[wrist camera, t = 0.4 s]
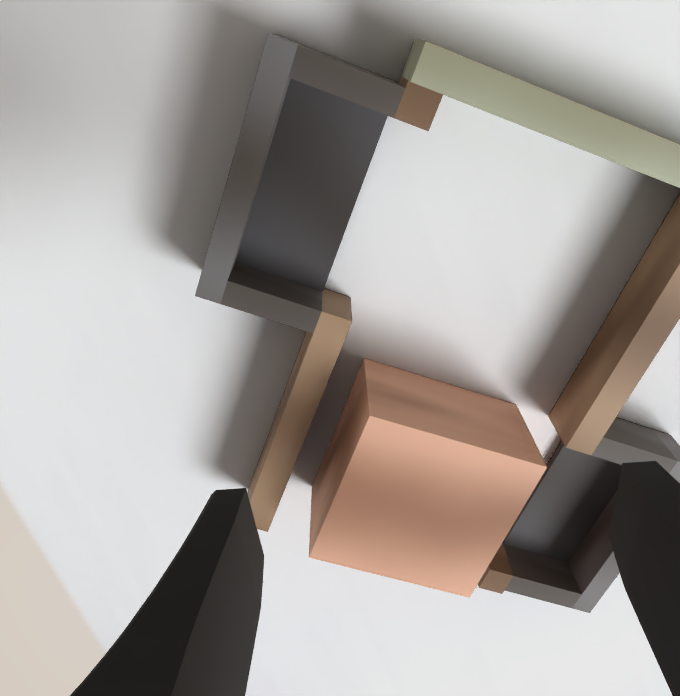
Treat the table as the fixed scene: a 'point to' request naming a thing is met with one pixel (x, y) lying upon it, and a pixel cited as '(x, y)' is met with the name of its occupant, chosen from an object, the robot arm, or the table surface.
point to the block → (421, 480)
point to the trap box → (335, 309)
